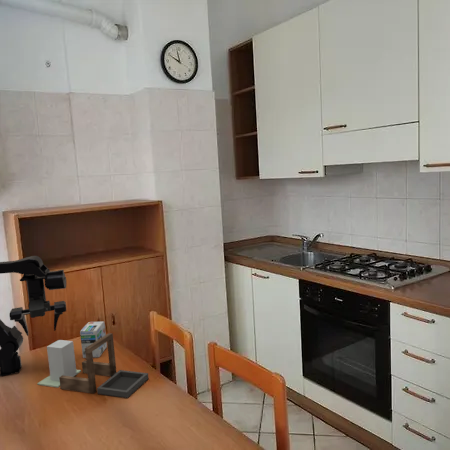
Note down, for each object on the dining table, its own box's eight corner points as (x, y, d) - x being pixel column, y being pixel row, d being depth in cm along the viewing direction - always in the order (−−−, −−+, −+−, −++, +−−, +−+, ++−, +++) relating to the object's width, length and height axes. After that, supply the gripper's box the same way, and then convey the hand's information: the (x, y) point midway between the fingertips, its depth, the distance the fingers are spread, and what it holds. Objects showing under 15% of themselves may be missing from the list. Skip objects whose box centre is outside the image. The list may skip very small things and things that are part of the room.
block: (50, 380, 154) (46, 346, 153) (62, 372, 160) (58, 339, 158) (65, 382, 152) (61, 348, 150) (76, 374, 158) (73, 341, 156)
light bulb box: (99, 357, 172) (96, 330, 170) (82, 358, 172) (79, 331, 170) (107, 346, 182) (104, 320, 181) (90, 347, 182) (88, 321, 181)
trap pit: (97, 394, 144) (96, 388, 143) (120, 375, 156) (120, 369, 155) (127, 398, 140) (126, 392, 139) (148, 378, 152) (148, 373, 151)
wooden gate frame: (60, 388, 149) (55, 345, 147) (85, 371, 161) (81, 330, 159) (93, 393, 144) (88, 348, 142) (116, 375, 156) (112, 333, 154)
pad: (37, 384, 153) (37, 383, 152) (61, 369, 164) (61, 367, 164) (58, 387, 150) (57, 386, 150) (81, 371, 161) (81, 370, 161)
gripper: (5, 301, 152) (11, 345, 154) (63, 292, 158) (68, 335, 160) (8, 293, 162) (14, 334, 165) (63, 285, 169) (68, 325, 171)
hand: (41, 332), depth 165 cm, fingers open, 9 cm apart
